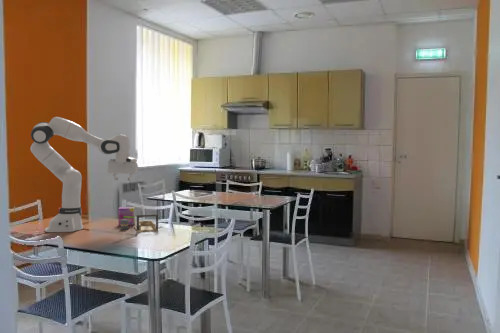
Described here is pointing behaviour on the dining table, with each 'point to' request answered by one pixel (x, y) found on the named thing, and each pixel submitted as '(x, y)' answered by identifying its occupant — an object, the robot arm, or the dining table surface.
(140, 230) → the wooden tray with handle
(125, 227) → the gray domed cylinder
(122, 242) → the dining table surface
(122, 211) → the box
